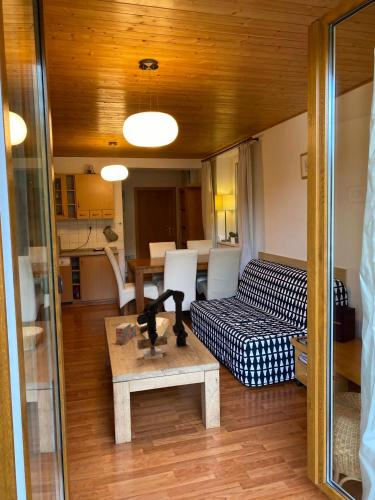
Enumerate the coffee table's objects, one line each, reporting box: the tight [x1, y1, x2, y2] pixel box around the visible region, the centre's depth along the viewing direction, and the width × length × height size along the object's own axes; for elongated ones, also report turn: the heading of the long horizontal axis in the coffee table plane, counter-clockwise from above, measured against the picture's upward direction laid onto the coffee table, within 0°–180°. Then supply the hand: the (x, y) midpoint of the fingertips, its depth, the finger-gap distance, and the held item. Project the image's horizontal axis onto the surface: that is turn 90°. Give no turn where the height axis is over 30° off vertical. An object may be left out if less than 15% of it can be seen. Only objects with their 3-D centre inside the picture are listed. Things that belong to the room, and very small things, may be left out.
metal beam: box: [136, 335, 168, 350], centre depth 265 cm, size 20×4×5 cm, turn 117°
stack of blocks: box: [115, 322, 137, 345], centre depth 297 cm, size 21×6×12 cm, turn 162°
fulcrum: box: [142, 347, 164, 360], centre depth 265 cm, size 12×14×6 cm
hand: (152, 344), depth 265 cm, fingers closed on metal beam, 5 cm apart
